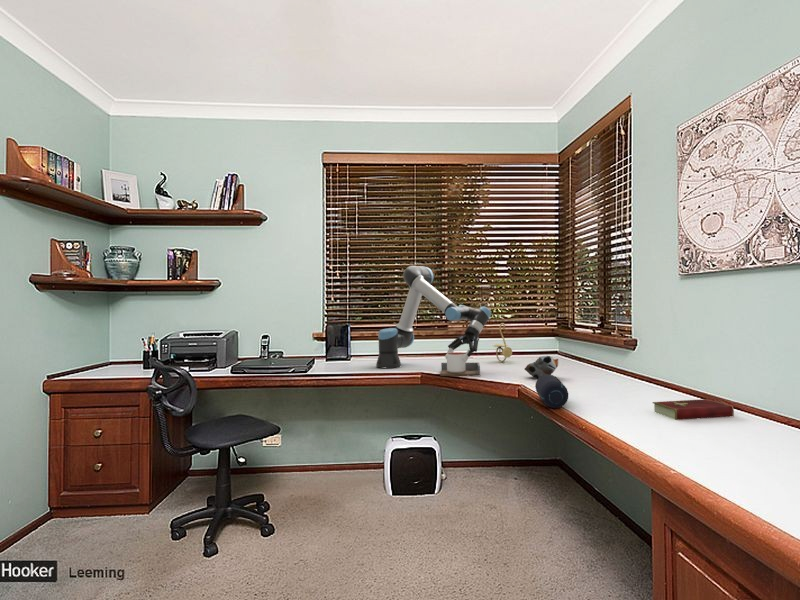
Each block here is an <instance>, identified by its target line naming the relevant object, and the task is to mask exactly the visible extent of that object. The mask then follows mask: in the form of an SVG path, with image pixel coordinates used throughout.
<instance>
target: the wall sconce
mask: <svg viewBox="0 0 800 600" xmlns="http://www.w3.org/2000/svg"><path fill="white" fill-rule="evenodd" d="M502 325H503V326H502ZM505 329H506V324H505V323H504V322H501V323H500V324H499V333H500V336H501V339H502V341H503V344H492V346H493V347H496V349H495V353H496V355H495V356H496V359H497V360H498V361H499V362H500V363H504V362H505V361H506V359H507V358H510V357H511V356H512V355H513V350H512V348H511V347H509V346H508V344H506V340H505V338H504V335H503V332H502V330H505ZM503 347H504V348H503ZM498 352H499V353H498ZM499 355H501V356H503V357H504V359H503V360H501V359H500V358H499Z"/></svg>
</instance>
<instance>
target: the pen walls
mask: <svg viewBox="0 0 800 600" xmlns="http://www.w3.org/2000/svg"><path fill="white" fill-rule="evenodd" d="M440 363H441V365H440V366H441V367H440V368H441V370H447V362H440ZM465 367H466V370H478V374H480V375H481V365H480V362H465Z"/></svg>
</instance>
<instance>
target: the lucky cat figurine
mask: <svg viewBox="0 0 800 600" xmlns="http://www.w3.org/2000/svg"><path fill="white" fill-rule="evenodd" d="M558 366H559V358H554V357H553V356H551V355H542V356H541V355H540V356H539V357H538V358H537V359H535V361H534V362H531V363H528V364H527V365H526V366H525V367H524V370H525V372H527V373H528V374H529V375H530V376H532V377H534V378H536V379H537V378H539V377H541V376H542V375H546V374H550V375H553V374H554V372H555V371H556V369H557V368H558Z"/></svg>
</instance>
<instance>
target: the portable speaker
mask: <svg viewBox="0 0 800 600" xmlns="http://www.w3.org/2000/svg"><path fill="white" fill-rule="evenodd" d="M535 391H536V393H537V394H538V396H539V398H540V400H541V402H543V404H544V405H545V406H547V408H548V407H549V408H551V409H559V408H562V407H564V406H565V405H566V404H567V402H568V400H569V391H568V388H567V387H566V386H565V384H564V383H563V382H562V381H561V380H560V379H559V378H558V377H557V376H555V375H553V374H551V375H550V374H546V375H542V376H541V377H539V378H538V379H537V380H536V382H535Z"/></svg>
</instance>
